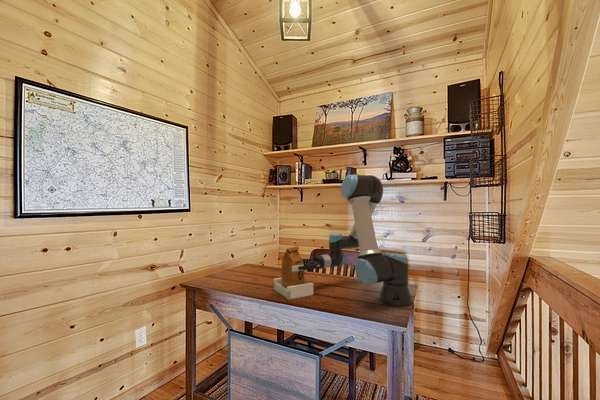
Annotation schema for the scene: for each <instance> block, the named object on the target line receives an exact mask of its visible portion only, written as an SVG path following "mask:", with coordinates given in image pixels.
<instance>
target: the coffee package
mask: <svg viewBox="0 0 600 400" xmlns="http://www.w3.org/2000/svg"><path fill="white" fill-rule="evenodd" d="M299 249H300V246H299V245H296V246H292V247H288V248H286V249H285V252H284V254H283V256H282V259H281V270H280V271H281V278H282V286H283V287H284V288H286V289H287V287H289V286H295V285H301V284H306V280H305V270H300V271H293V272H292V266H296V265H304V263H303V260H302V259H303V258H302V256H301V255H300V252H299Z"/></svg>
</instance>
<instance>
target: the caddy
mask: <svg viewBox="0 0 600 400" xmlns="http://www.w3.org/2000/svg"><path fill="white" fill-rule="evenodd" d="M273 290H274V291H275V292H276V293H278V294H279V295H281V296H283V297H284V298H285V299H286V300H287V301H288V300H294V299H298V298H304V297H308V296H314V282H308V283H305V284H301V285H295V286H289V287H287V289H286V288H284V287H283V286H282V277H278V278H277V277H276V278H273Z"/></svg>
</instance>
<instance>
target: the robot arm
mask: <svg viewBox="0 0 600 400" xmlns="http://www.w3.org/2000/svg"><path fill="white" fill-rule="evenodd" d="M340 192H341V195H342V197H344V198H346V199H347V203H348V204H349V205H351V210H352V215H353V219H354V222H353V226H352V227H351V230H350V233H349V234H348V235H343V234H342V233H340V232H331V233H329V236H328V254H327V253H326V254H321V255H314V256H313V257H312V258H302V260H303V263H304V265H296V266H292V272H293V271H300V270H304V271H307V272H309V271H312V270H315V269H316V270H322V269H325V270H327V268H335V267H336V268H337V267H341V266H344V265H345V264H346V262H347V258H346V255H345V253H343V252H342V251H343V250H347V249H358V248H359V253H358V255H357V260H356V261H355V264H354V271H355V274H356V277H357V278H358V279H359V280H360V282H362V283H363V284H366V285H370V284H378V283H382V287H381V290H380V292H379V300H380V302H382V303H383V304H385V305H390V306H395V307H397V306H398V307H405V306H410V305H411V304H412V303H413V297H412V295H411V292H410V288H409V258H408V257H407V256H406V255H405V254H400V253H394V252H388V251H387V252H382V251H381V250H379V247H378V241H377V238H376V232H375V228H374V223H373V218H372V216H373V214H374V212H375V210H376V207H377V205H378V204H379V203H381V201H382V199H383V195H384V185H383V183H382V181H381V180H380V179H379V178H378V176H375V175H372V174H370V175H369V174H367V175H366V174H348V175H345V177H344V178H343V180H342V183H341V184H340Z"/></svg>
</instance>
